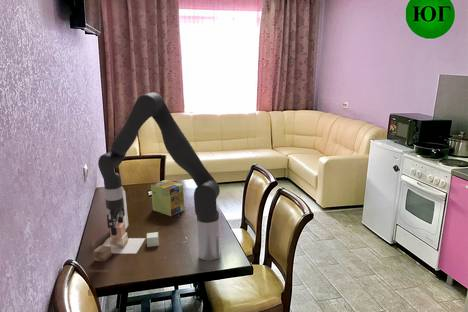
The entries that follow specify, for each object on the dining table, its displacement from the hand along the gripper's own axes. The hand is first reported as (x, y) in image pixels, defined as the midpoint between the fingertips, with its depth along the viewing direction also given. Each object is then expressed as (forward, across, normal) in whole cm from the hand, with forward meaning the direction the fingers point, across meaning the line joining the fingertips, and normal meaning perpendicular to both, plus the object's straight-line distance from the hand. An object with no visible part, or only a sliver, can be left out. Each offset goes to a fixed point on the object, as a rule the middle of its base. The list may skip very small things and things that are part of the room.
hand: (117, 230), depth 165 cm
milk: (+8, +19, +6) cm, 22 cm away
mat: (+8, 0, -1) cm, 8 cm away
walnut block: (+8, -11, +3) cm, 14 cm away
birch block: (+7, 0, 0) cm, 7 cm away
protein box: (+8, +42, -13) cm, 45 cm away
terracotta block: (+2, 0, 0) cm, 2 cm away
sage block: (+8, +2, -15) cm, 17 cm away
